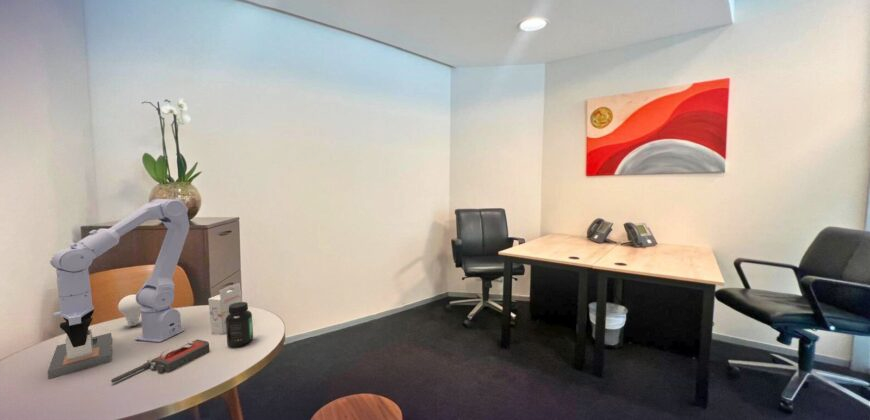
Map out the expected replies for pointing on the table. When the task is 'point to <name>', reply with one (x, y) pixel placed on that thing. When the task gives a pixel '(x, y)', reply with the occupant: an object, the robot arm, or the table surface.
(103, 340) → the hole plate
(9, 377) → the table surface
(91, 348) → the square peg
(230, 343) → the supplement bottle
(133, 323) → the light bulb
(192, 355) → the walkie-talkie
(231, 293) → the ink cartridge box
